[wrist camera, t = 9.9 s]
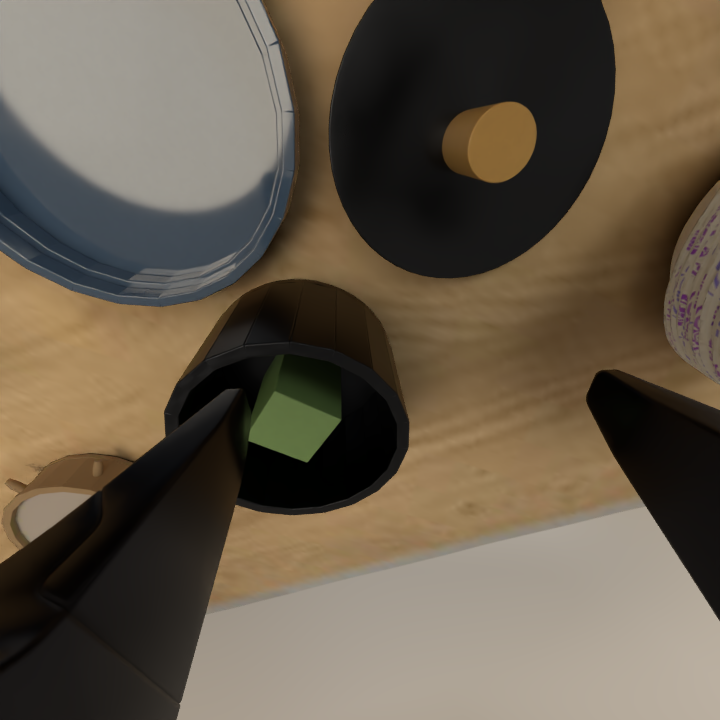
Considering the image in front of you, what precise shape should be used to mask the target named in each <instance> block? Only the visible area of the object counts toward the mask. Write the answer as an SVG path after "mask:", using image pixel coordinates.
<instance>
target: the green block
mask: <svg viewBox="0 0 720 720" xmlns="http://www.w3.org/2000/svg"><path fill="white" fill-rule="evenodd" d="M340 421H341V367H339V366H337V365H335V364H333V363H331V362H329V361H324V360H319V359H313V358H308V357H303V356H298V355H292V354H285V355H276V356H275V358H274V360H273V361H272V363H271V365H270V366H269V368H268V370H267V372H266V373H265V375H264V377H263V381H262V384H261V387H260V390H259V393H258V396H257V400H256V403H255V406H254V409H253V412H252V415H251V427H250V434H249V441H250V442H253V443H255V444H258V445H261V446H264V447H266V448H269V449H272V450H274V451H277V452H280V453H282V454H285V455H288V456H291V457H293V458H296V459H299V460H301V461H304V462H308V461H309V460H310V459H311V457H312V456H313V455H314V454H315V452H316V451H317V450H318V449H319V447H320V446H321V445H322V444H323V442H324V441H325V440H326V439H327V437H328V436H329V435H330V434H331V433H332V431H333V430H334V429H335V428H336V426H337V425H338V424H339V423H340Z"/></svg>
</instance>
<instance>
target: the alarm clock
mask: <svg viewBox="0 0 720 720" xmlns="http://www.w3.org/2000/svg"><path fill="white" fill-rule="evenodd" d="M131 464H133V462H130V461H127V460H124V459H121V458H118V457H113V456H105V455H97V454H82V455H72V456H66V457H64V458H61V459H59V460H56V461H54V462H51V463H49V464H48V465H47V466H46V467H45V468H44V469H43V470H42V471H41V473H40V474H39V475H38V476H37V477H36V478H35V479H34V480H33V481H32V482H31V483H30V484H29V485H28V486H27V485H25V484H23V483H21V482H19V481H16V480H13V479H8V480H7V481H6V482H5V484H6V485H7V486H8V487H9V488H10V489H12V490H14V491H16V492H17V493H19V494H18V495H17V496H15V498H14V499H13V500H12V501H11V502H10V503H9V504H8V505H7V506H6V507H5V508H4V511H3V518H2V525H3V528H4V530H5V532H6V535H7V537H8V539H9V540H10V541H11V542H12V543H13V544H14V545H15V546H16V547H17V548H18V549H19V550H20V549H22V548H23V547H25V546H26V545H27V544H29V543H30V542H31V541H33V540H34V539H36V538H37V537H38V536H40V535H41V534H43V533H44V532H45V531H47V530H48V529H49V528H51V527H52V526H53V525H55V524H56V523H57V522H59V521H60V520H61V519H63V518H64V517H65V516H66V515H68V514H69V513H70V512H72V511H73V510H74V509H76V508H77V507H78V506H79V505H81V504H82V503H83V502H85V501H86V500H87V499H88V498H90V497H91V496H92V495H93V494H95V493H96V492H97V491H99V490H101V491H102V488H103V487H104V486H105V485H106V484H107V483H109V482H110V481H111V480H112V479H114V478H115V477H116V476H117V475H119V474H120V473H121V472H123V471H124V470H125V469H126V468H128V467H129V466H130V465H131Z"/></svg>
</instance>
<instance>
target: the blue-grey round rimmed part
mask: <svg viewBox="0 0 720 720" xmlns="http://www.w3.org/2000/svg"><path fill="white" fill-rule="evenodd" d="M299 166H300V116H299V109H298V105H297V100H296V95H295V90H294V86H293V81H292V76H291V71H290V67H289V62H288V57H287V54H286V51H285V48H284V46H283V44H282V41H281V39H280V37H279V34H278V32H277V30H276V27H275V25H274V23H273V20H272V18H271V16H270V13H269V11H268V9H267V6H266V4H265V2H264V0H0V251H1V252H3V253H4V254H6V255H7V256H8V257H10V258H11V259H13V260H14V261H16V262H17V263H19V264H20V265H21V266H23V267H25V268H26V269H28V270H30V271H32V272H34V273H36V274H38V275H40V276H43V277H45V278H47V279H49V280H51V281H53V282H55V283H57V284H59V285H61V286H63V287H65V288H67V289H69V290H71V291H74V292H78V293H81V294H85V295H89V296H92V297H96V298H99V299H103V300H106V301H110V302H114V303H117V304H118V303H119V304H127V305H142V306H157V307H161V306H162V307H164V306H169V305H175V304H181V303H186V302H192V301H198V300H201V299H203V298H205V297H207V296H209V295H211V294H214V293H216V292H218V291H220V290H222V289H224V288H226V287H228V286H230V285H232V284H233V283H235V282H236V281H237V280H238V279H239V278H240V277H242V276H243V275H244V274H245V273H246V272H247V271H248V270H249V269H250V268H251V267H252V266H253V265H254V264H255V263H256V262H257V261H258V260H259V259H261V258H262V256H263V255H264V253H265V252H266V250H267V249H268V247H269V246H270V244H271V242H272V240H273V239H274V237H275V235H276V233H277V231H278V230H279V228H280V226H281V224H282V223H283V221H284V219H285V217H286V216H287V214H288V211H289V208H290V204H291V200H292V196H293V192H294V188H295V184H296V180H297V176H298V172H299Z"/></svg>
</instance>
